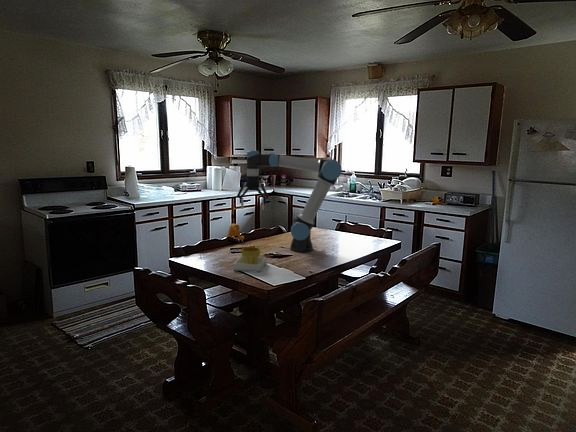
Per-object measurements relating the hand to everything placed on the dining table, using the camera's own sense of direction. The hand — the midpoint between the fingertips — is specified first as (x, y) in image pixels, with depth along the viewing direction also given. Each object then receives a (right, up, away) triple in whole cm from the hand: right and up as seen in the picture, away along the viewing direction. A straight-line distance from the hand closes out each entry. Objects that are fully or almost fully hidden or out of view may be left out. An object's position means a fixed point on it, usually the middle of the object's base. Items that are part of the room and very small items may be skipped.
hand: (252, 209), depth 255 cm
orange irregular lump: (-16, -22, +37) cm, 46 cm away
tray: (+1, -34, -25) cm, 42 cm away
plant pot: (+1, -33, -25) cm, 41 cm away
